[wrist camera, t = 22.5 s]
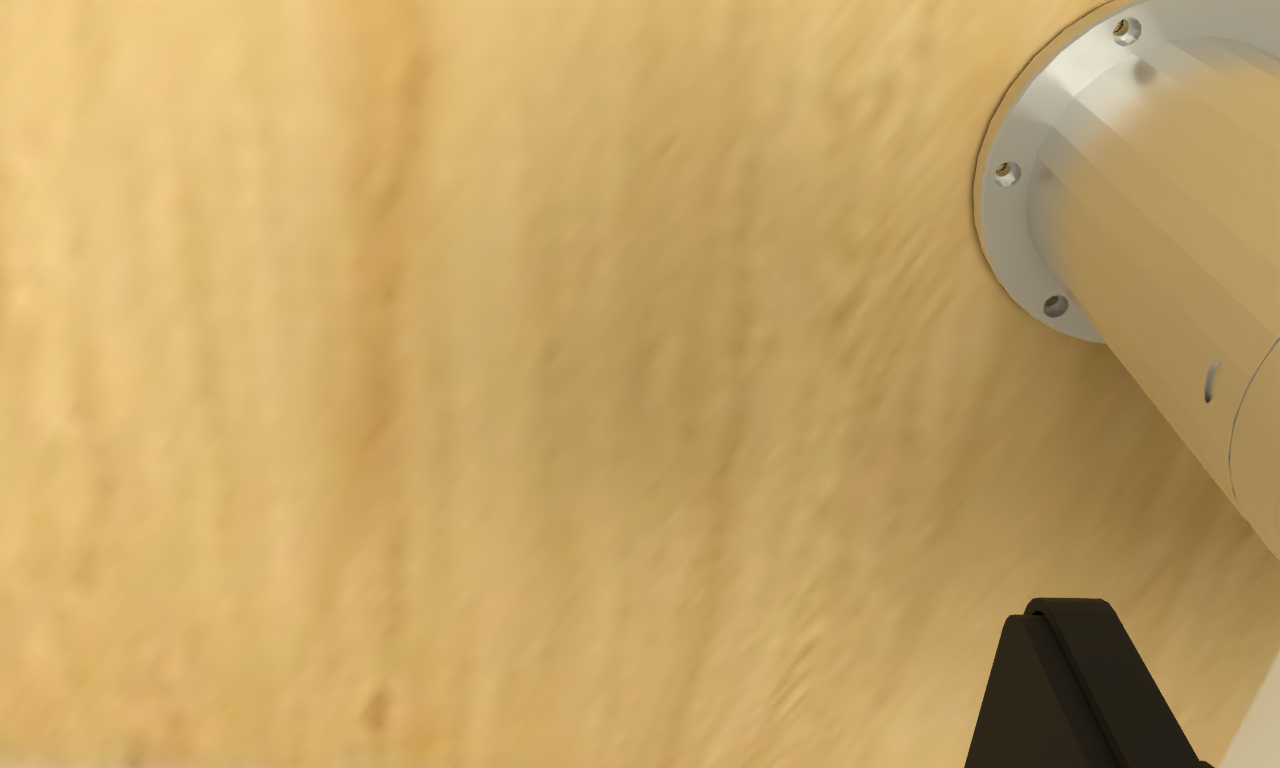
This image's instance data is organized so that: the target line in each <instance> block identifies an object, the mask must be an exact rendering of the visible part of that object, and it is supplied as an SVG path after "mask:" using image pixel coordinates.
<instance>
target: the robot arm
mask: <svg viewBox="0 0 1280 768" xmlns="http://www.w3.org/2000/svg"><path fill="white" fill-rule="evenodd" d="M1121 20H1123V26H1122V28H1121V29H1120V30H1119V31H1118V32H1115V33H1113V31H1114V29H1115V27H1116V25H1117V24H1118V23H1119V22H1120V21H1121ZM1003 163H1007V165H1006V167H1005V169H1003V170H1002V171H1000V172H996V170H997V168H998V167H999V166H1001V165H1002V164H1003ZM973 202H974V222H975V226H976V230H977V234H978V237H979V241H980V245H981V249H982V252H983V254H984V256H985V258H986V259H987V261H988V263H989V265H990V267H991V269H992V271H993V273H994V274H995V276H996V278H997V279H998V281H999V282H1000V283H1001V285H1002V286H1003V287H1004V289H1005V290H1006V291H1007V293H1008V294H1009V295H1010V297H1011V298H1012V299H1013V300H1014V301H1015V302H1016V303H1017V304H1018V305H1019V306H1020V307H1021V308H1023V309H1024V310H1025V311H1026V312H1027V313H1028V314H1029V315H1030V316H1031V317H1033V318H1034V319H1036V320H1037V321H1039V322H1041V323H1043V324H1044V325H1046V326H1048V327H1050V328H1052V329H1053V330H1055V331H1057V332H1059V333H1061V334H1065V335H1068V336H1071V337H1074V338H1077V339H1080V340H1083V341H1087V342H1092V343H1101V344H1107V345H1108V346H1109V348H1110V349H1111V350H1112V351H1113V353H1114V354H1115V355H1116V357H1117V358H1118V359H1119V360H1120V362H1121V363H1122V364H1123V365H1124V367H1125V368H1126V369H1127V370H1128V372H1129V373H1130V374H1131V376H1132V377H1133V378H1134V379H1135V381H1136V382H1137V383H1138V384H1139V386H1140V387H1141V388H1142V390H1143V391H1144V392H1145V393H1146V395H1147V396H1148V397H1149V398H1150V400H1151V401H1152V402H1153V404H1154V405H1155V406H1156V407H1157V409H1158V410H1159V411H1160V412H1161V414H1162V415H1163V416H1164V418H1165V419H1166V420H1167V421H1168V423H1169V424H1170V425H1171V426H1172V428H1173V429H1174V430H1175V432H1176V433H1177V434H1178V435H1179V437H1180V438H1181V439H1182V440H1183V442H1184V443H1185V444H1186V446H1187V447H1188V448H1189V449H1190V451H1191V452H1192V453H1193V454H1194V456H1195V457H1196V458H1197V460H1198V461H1199V462H1200V463H1201V465H1202V466H1203V467H1204V468H1205V470H1206V471H1207V472H1208V474H1209V475H1210V476H1211V477H1212V479H1213V480H1214V481H1215V482H1216V484H1217V485H1218V486H1219V487H1220V489H1221V490H1222V491H1223V493H1224V494H1225V495H1226V496H1227V498H1228V499H1229V500H1230V501H1231V503H1232V504H1233V505H1234V507H1235V508H1236V509H1237V510H1238V512H1239V513H1240V514H1241V515H1242V517H1243V518H1244V519H1245V521H1246V522H1247V523H1248V524H1249V525H1250V526H1251V527H1252V528H1253V530H1254V531H1255V532H1256V533H1257V535H1258V536H1259V537H1260V538H1261V540H1262V541H1263V542H1264V543H1265V545H1266V546H1267V547H1268V548H1269V550H1270V551H1271V552H1272V553H1273V555H1274V556H1275V557H1276V558H1277V560H1278V561H1279V562H1280V0H1114V1H1112V2H1110V3H1107V4H1105V5H1103V6H1101V7H1099V8H1097V9H1096V10H1094V11H1093V12H1091V13H1090V14H1088V15H1086V16H1085V17H1083V18H1082V19H1080V20H1079V21H1077V22H1076V23H1074V24H1073V25H1071V26H1069V27H1068V28H1066V29H1065V30H1064V31H1063V32H1062V33H1061V34H1059V35H1058V36H1057V37H1056V38H1055V39H1054V40H1053V41H1052V42H1051V43H1049V44H1048V45H1047V46H1046V47H1045V48H1044V49H1043V50H1042V51H1041V52H1039V53H1038V54H1037V55H1036V56H1035V57H1034V58H1033V59H1032V61H1031V62H1030V63H1029V64H1028V66H1027V67H1026V68H1025V69H1024V71H1023V72H1022V73H1021V74H1020V76H1019V77H1018V78H1017V79H1016V81H1015V82H1014V83H1013V84H1012V86H1011V87H1010V88H1009V90H1008V92H1007V93H1006V95H1005V97H1004V99H1003V100H1002V102H1001V104H1000V106H999V107H998V109H997V111H996V113H995V114H994V116H993V118H992V120H991V122H990V124H989V127H988V130H987V133H986V136H985V138H984V141H983V144H982V147H981V150H980V152H979V155H978V161H977V167H976V174H975V180H974V186H973ZM1052 296H1053V297H1052ZM1051 297H1052V298H1051ZM1049 298H1051V299H1049ZM1048 299H1049V300H1048ZM964 768H1214V767H1213V766H1211V765H1210V764H1209V763H1207V762H1206V761H1199V759H1198V757H1197V756H1196V754H1195V752H1194V750H1193V749H1192V747H1191V745H1190V743H1189V742H1188V740H1187V738H1186V736H1185V734H1184V733H1183V731H1182V729H1181V727H1180V726H1179V724H1178V722H1177V720H1176V719H1175V717H1174V715H1173V713H1172V712H1171V710H1170V708H1169V706H1168V704H1167V703H1166V701H1165V699H1164V697H1163V696H1162V694H1161V692H1160V690H1159V689H1158V687H1157V685H1156V683H1155V681H1154V680H1153V678H1152V676H1151V674H1150V673H1149V671H1148V669H1147V667H1146V666H1145V664H1144V662H1143V660H1142V659H1141V657H1140V655H1139V653H1138V651H1137V650H1136V648H1135V646H1134V644H1133V643H1132V641H1131V639H1130V637H1129V636H1128V634H1127V632H1126V630H1125V629H1124V627H1123V625H1122V623H1121V621H1120V620H1119V618H1118V616H1117V614H1116V613H1115V611H1114V610H1113V608H1112V607H1111V606H1110V604H1109V603H1108V602H1106V601H1104V600H1102V599H1088V598H1034V599H1032V600H1031V601H1030V602H1029V604H1028V605H1027V607H1026V609H1025V612H1024V614H1023V615H1010V616H1009V617H1008V618H1007V619H1006V621H1005V624H1004V626H1003V630H1002V633H1001V637H1000V641H999V644H998V648H997V651H996V655H995V659H994V662H993V666H992V669H991V673H990V677H989V680H988V684H987V687H986V691H985V695H984V698H983V702H982V705H981V709H980V713H979V716H978V720H977V723H976V727H975V731H974V734H973V738H972V741H971V745H970V749H969V752H968V756H967V759H966V763H965V767H964Z"/></svg>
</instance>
